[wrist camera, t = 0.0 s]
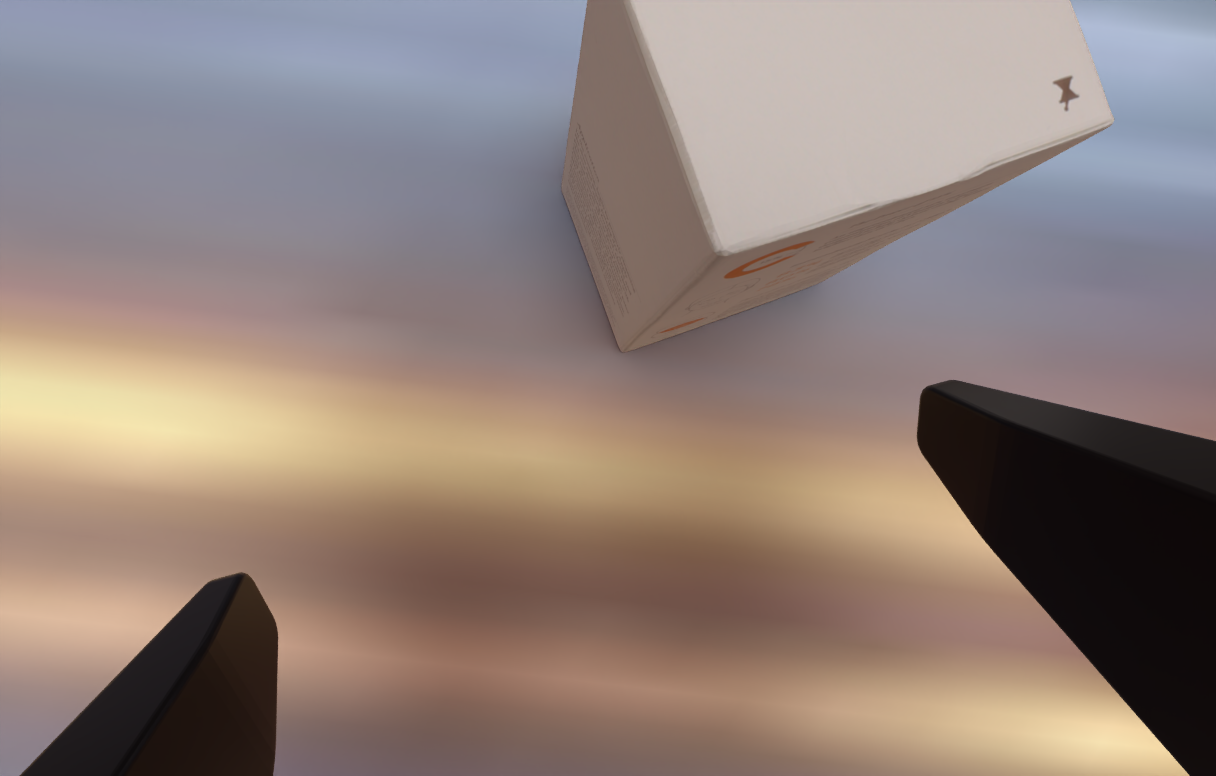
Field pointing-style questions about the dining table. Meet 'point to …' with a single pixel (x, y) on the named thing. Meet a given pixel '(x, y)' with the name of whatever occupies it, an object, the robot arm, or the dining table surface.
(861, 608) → the dining table surface
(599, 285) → the small box
